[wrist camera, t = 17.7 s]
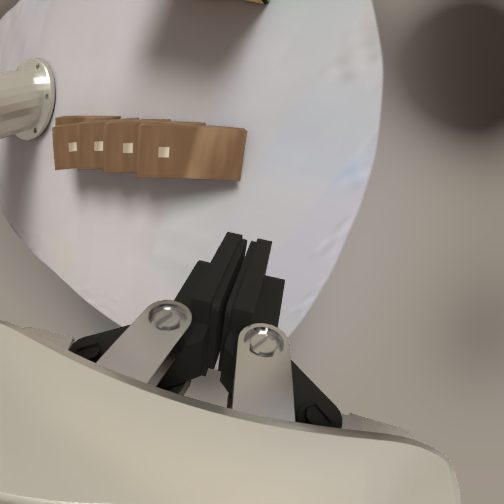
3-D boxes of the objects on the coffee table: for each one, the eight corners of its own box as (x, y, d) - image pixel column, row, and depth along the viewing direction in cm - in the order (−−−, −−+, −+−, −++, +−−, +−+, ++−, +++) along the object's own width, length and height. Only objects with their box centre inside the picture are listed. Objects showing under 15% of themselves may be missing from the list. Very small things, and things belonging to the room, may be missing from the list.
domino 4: (199, 168, 31) (107, 168, 28) (204, 122, 28) (107, 121, 25) (201, 173, 29) (104, 172, 26) (206, 125, 27) (104, 123, 24)
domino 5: (237, 175, 30) (139, 172, 28) (243, 128, 28) (141, 123, 25) (239, 180, 29) (136, 177, 26) (247, 131, 26) (138, 125, 24)
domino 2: (138, 160, 31) (60, 166, 29) (138, 117, 29) (57, 125, 26) (136, 164, 30) (55, 170, 27) (136, 119, 27) (52, 127, 25)
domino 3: (167, 163, 31) (81, 165, 28) (170, 119, 28) (81, 122, 26) (167, 167, 30) (77, 169, 27) (170, 121, 27) (76, 124, 24)
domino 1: (119, 157, 32) (64, 151, 33) (120, 116, 29) (63, 116, 30) (111, 160, 30) (55, 154, 31) (112, 118, 28) (55, 117, 29)
